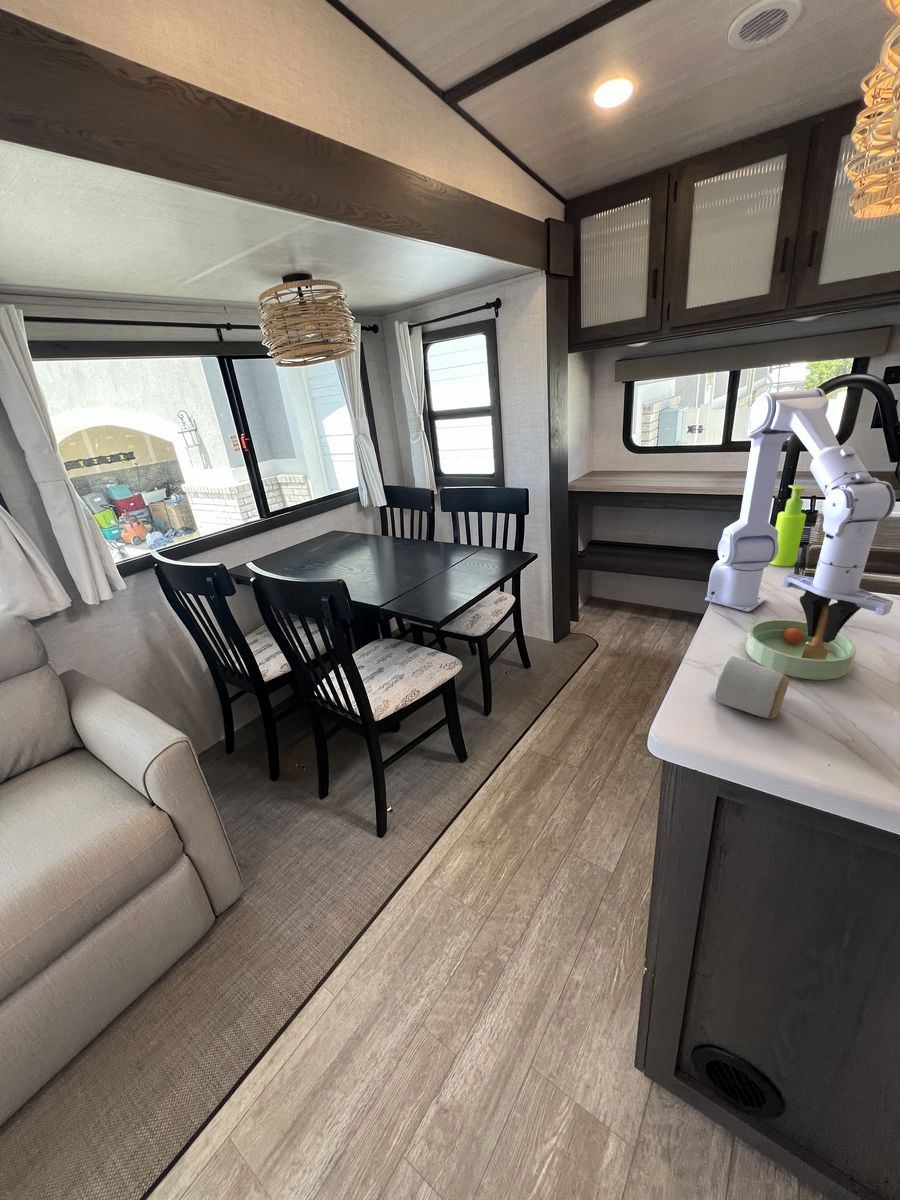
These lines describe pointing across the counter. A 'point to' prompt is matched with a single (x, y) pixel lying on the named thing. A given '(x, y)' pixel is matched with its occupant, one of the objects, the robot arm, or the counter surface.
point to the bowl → (797, 651)
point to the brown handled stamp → (818, 639)
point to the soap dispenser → (790, 529)
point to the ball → (793, 636)
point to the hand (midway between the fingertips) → (820, 637)
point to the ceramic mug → (751, 687)
